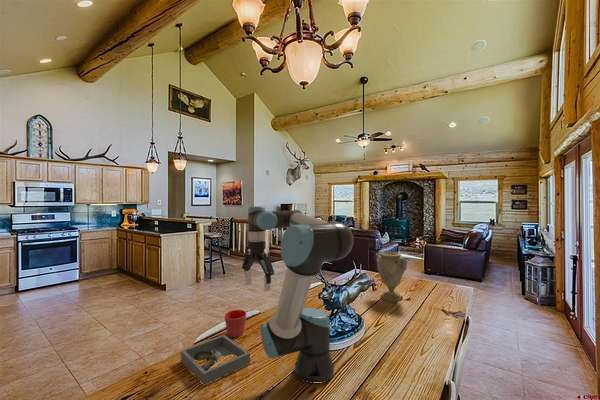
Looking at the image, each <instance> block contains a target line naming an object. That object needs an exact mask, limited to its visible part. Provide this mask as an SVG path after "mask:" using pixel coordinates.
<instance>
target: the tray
mask: <svg viewBox="0 0 600 400" xmlns="http://www.w3.org/2000/svg"><path fill="white" fill-rule="evenodd" d="M212 348H213V349H214V350H216V352H217V351H219V352H220V353H221V356H227V355H231V354H234V355H236V356H237V357H236V358H234V359H231V360H229V361H227V362H225V363H223V364H220V365H218V366H216V367H214V368H211V369H209V370H207V371H205V370H204V369H203V368H202V367H201V366H200V365H199V364H198V363H197V362H196V361H195V359H194V358H193V357H194V356H195V354H196V353H198V352H200V351H207V352H209V351H211V352H213V350H212ZM180 362H181V363H182V364H183V365H184V364H185V365H184V367H185V368H186V367H187V368H188V369H189V370H191V372H192V373H194V375H195V376H196V377H197V378H198V379H199V380H200V381H201V382H202V383H203V384H204V385H205V384H207V383H209V382H211V381H214V380H216V379H218V378H220V377H222V376H224V375H226V374H228V373H231V372H233V371H234V370H237V369H239V368H241V367H243V366H245V365H247V364H249V363H250V364H251V353H250V352H249V351H248V350H246V349H245V348H244V347H242V346H241V345H239V344H238V343H237V342H235V341H233V339H231V338H229V337H228V336H227V335H225V334H222V335H219V336H217V337H214V338H211V339H209V340H205V341H203V342H201V343H197V344H195V345H191V346H190V347H187V348H184V349H181V350H180ZM250 364H249V365H250ZM247 366H248V365H247ZM245 367H246V366H245ZM187 368H186V369H187ZM243 368H244V367H243ZM188 369H187V370H188ZM241 369H242V368H241ZM189 370H188V371H189ZM239 370H240V369H239ZM237 371H238V370H237ZM191 372H190V373H191ZM192 373H191V374H192ZM233 373H234V372H233ZM231 374H232V373H231ZM194 375H193V376H194ZM195 376H194V377H195ZM196 377H195V378H196ZM197 378H196V379H197ZM216 381H217V380H216ZM214 382H215V381H214Z"/></svg>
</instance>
